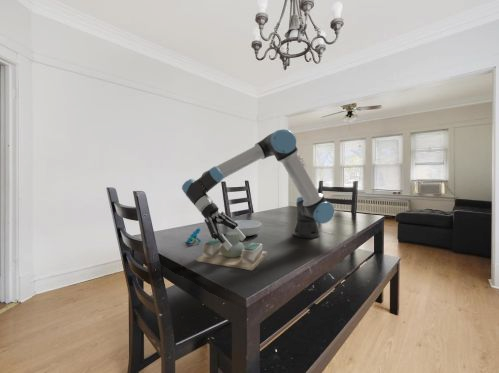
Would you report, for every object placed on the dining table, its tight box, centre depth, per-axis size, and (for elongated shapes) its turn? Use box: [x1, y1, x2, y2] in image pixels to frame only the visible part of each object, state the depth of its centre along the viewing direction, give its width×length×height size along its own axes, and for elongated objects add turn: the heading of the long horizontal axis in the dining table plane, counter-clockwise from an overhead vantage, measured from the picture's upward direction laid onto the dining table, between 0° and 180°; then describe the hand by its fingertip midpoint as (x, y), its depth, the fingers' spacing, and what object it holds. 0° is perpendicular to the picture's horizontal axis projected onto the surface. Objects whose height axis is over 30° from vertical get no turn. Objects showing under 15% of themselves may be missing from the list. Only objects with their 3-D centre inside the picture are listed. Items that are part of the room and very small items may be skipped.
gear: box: [186, 227, 202, 245], centre depth 126 cm, size 11×6×10 cm
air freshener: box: [220, 231, 246, 258], centre depth 102 cm, size 11×8×10 cm
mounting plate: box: [195, 238, 268, 271], centre depth 102 cm, size 26×18×6 cm
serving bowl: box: [226, 219, 262, 237], centre depth 140 cm, size 21×21×7 cm
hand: (237, 243), depth 101 cm, fingers open, 13 cm apart
